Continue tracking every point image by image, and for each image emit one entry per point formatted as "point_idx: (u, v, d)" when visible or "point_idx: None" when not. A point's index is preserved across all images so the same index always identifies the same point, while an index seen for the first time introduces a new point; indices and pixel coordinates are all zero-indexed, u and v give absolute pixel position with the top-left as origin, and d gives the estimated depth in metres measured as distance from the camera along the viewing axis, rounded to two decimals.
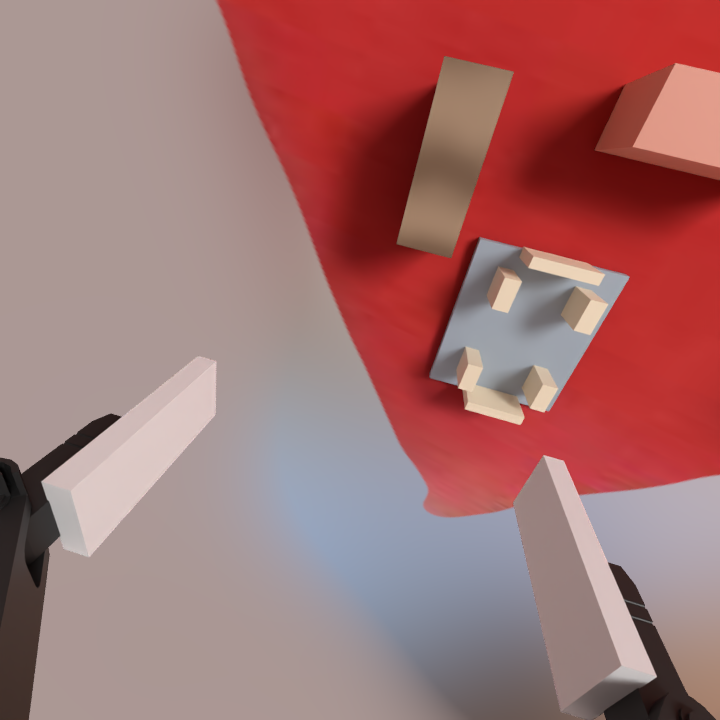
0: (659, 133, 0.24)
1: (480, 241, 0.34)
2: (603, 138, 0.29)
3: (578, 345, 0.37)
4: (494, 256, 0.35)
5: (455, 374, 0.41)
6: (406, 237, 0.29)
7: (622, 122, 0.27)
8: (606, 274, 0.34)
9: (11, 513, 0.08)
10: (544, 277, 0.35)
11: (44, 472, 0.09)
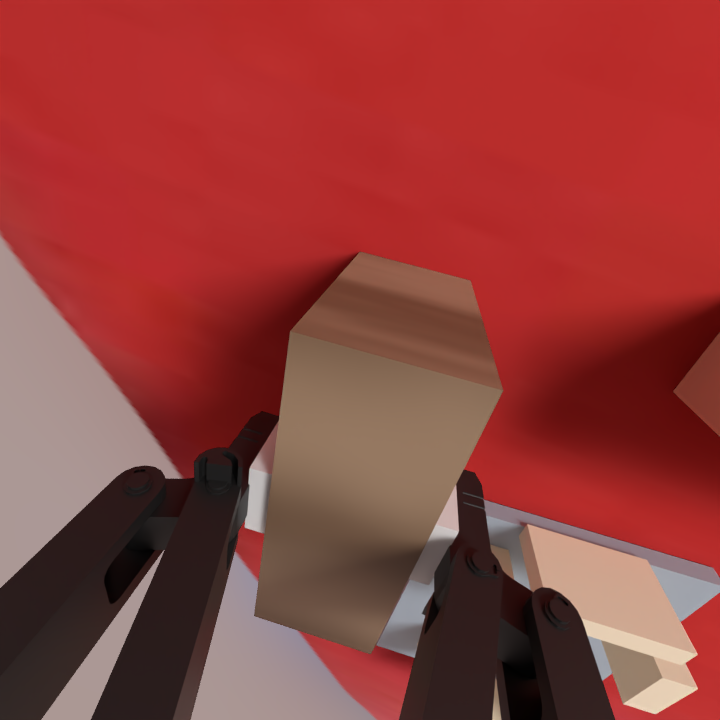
0: None
1: None
2: (697, 385, 0.14)
3: None
4: None
5: (416, 648, 0.26)
6: (272, 611, 0.13)
7: None
8: (681, 578, 0.18)
9: (228, 500, 0.09)
10: None
11: None
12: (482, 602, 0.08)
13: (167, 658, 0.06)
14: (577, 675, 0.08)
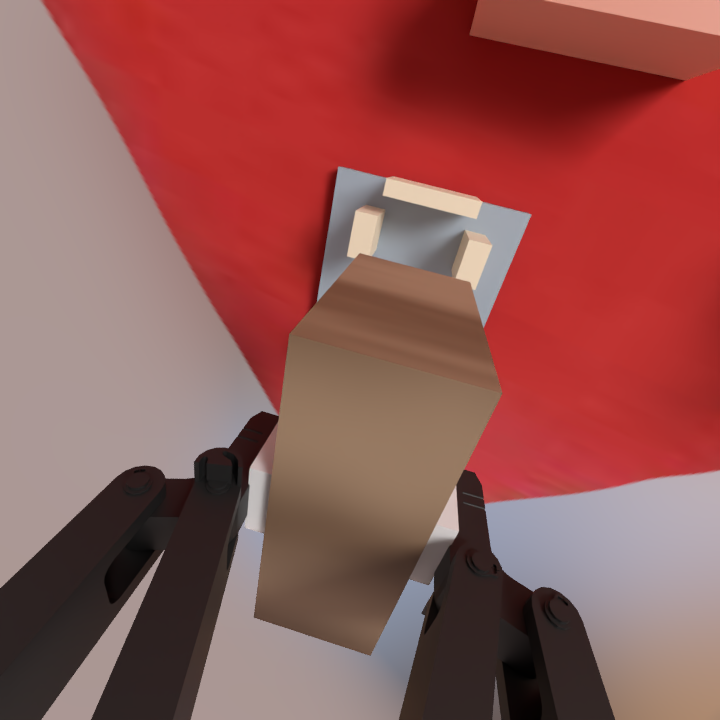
0: None
1: (339, 170, 0.26)
2: None
3: None
4: (359, 191, 0.27)
5: None
6: (271, 613, 0.13)
7: None
8: (501, 212, 0.26)
9: (228, 500, 0.09)
10: (424, 218, 0.27)
11: None
12: (482, 602, 0.08)
13: (167, 659, 0.06)
14: (577, 675, 0.08)
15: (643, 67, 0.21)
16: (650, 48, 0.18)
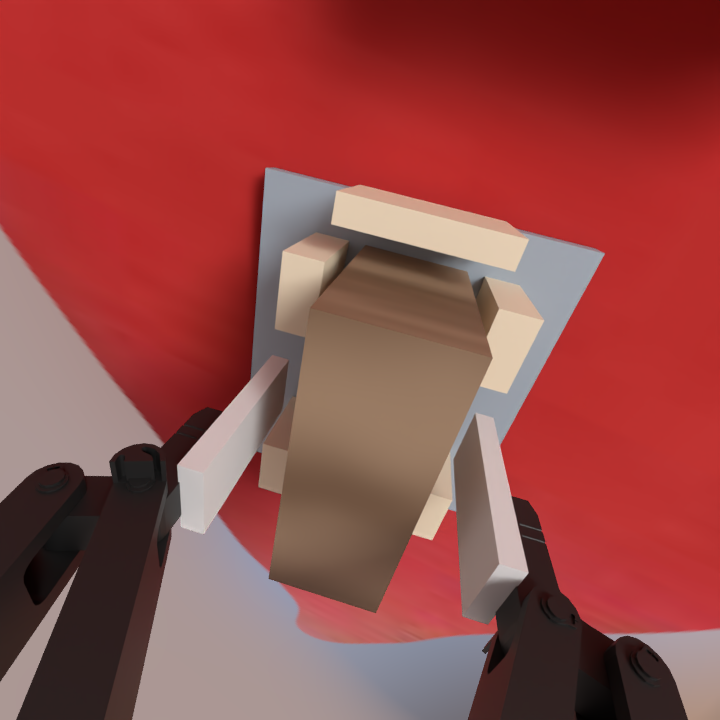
0: None
1: (267, 174, 0.15)
2: None
3: (503, 400, 0.18)
4: (303, 209, 0.15)
5: None
6: (285, 573, 0.14)
7: None
8: (550, 248, 0.14)
9: (153, 496, 0.09)
10: (416, 256, 0.16)
11: (168, 458, 0.11)
12: (558, 653, 0.08)
13: (93, 661, 0.06)
14: None
15: None
16: None
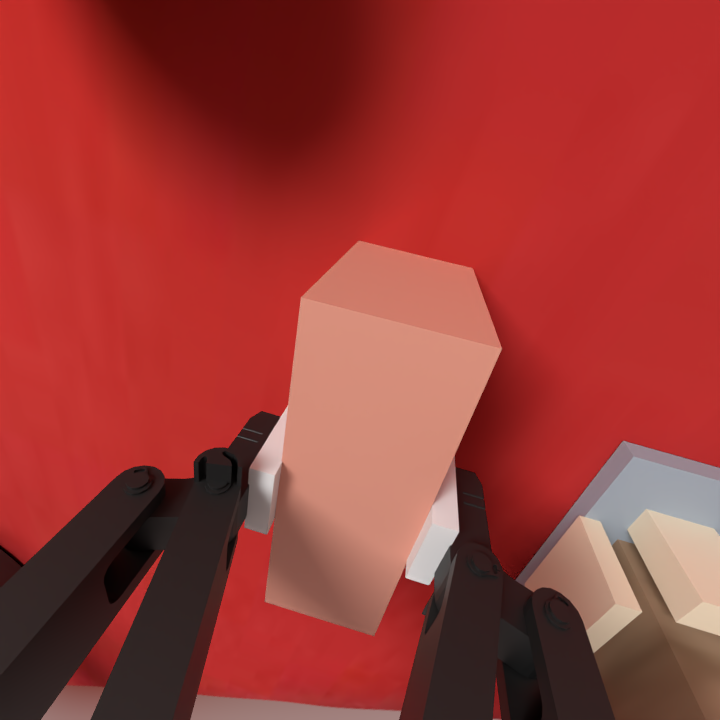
0: (354, 612, 0.14)
1: None
2: None
3: None
4: None
5: None
6: None
7: None
8: (614, 490, 0.16)
9: (228, 500, 0.09)
10: None
11: None
12: (483, 602, 0.08)
13: (166, 659, 0.06)
14: (577, 675, 0.08)
15: None
16: None
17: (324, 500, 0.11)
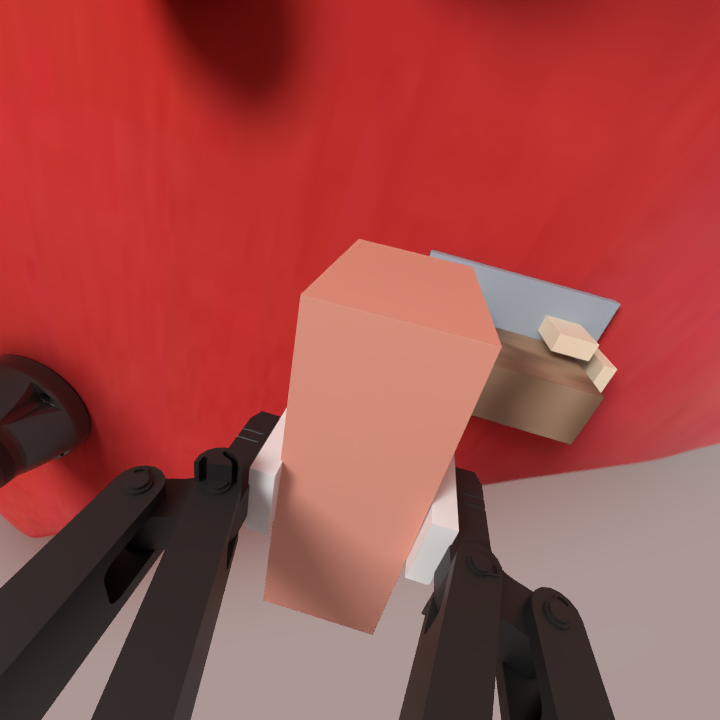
0: (353, 611, 0.14)
1: None
2: None
3: (515, 286, 0.30)
4: None
5: None
6: (566, 435, 0.27)
7: None
8: None
9: (229, 500, 0.09)
10: None
11: None
12: (482, 602, 0.08)
13: (167, 658, 0.06)
14: (577, 675, 0.08)
15: None
16: None
17: (323, 497, 0.11)
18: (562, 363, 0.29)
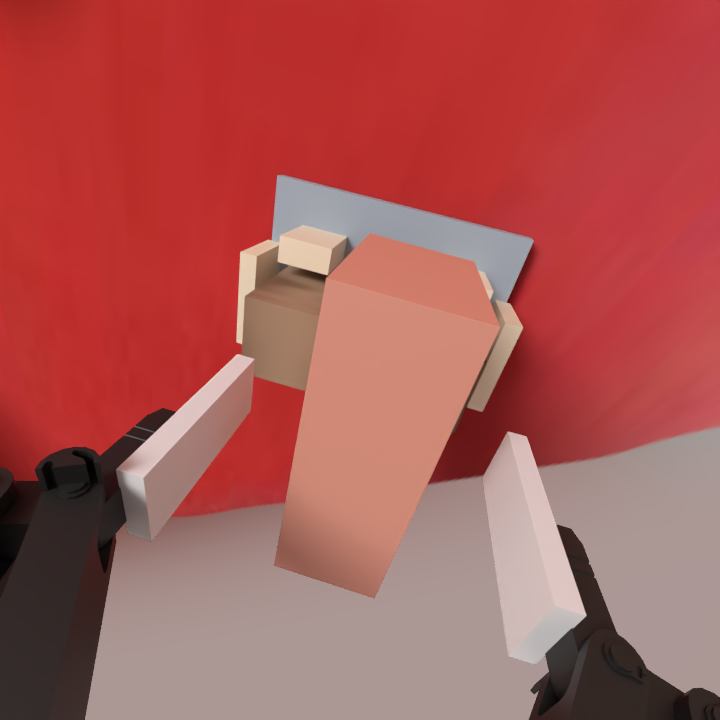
0: (357, 575, 0.15)
1: None
2: None
3: (393, 220, 0.22)
4: None
5: None
6: None
7: None
8: (278, 210, 0.23)
9: (89, 500, 0.09)
10: None
11: (112, 462, 0.10)
12: (621, 706, 0.07)
13: (30, 673, 0.06)
14: None
15: None
16: None
17: (335, 465, 0.12)
18: None
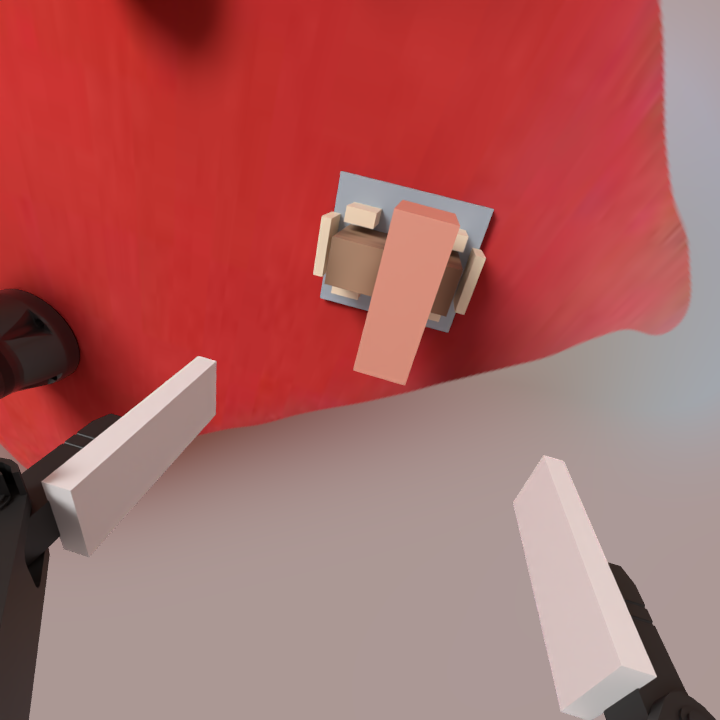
0: (397, 370, 0.30)
1: (322, 297, 0.44)
2: None
3: (410, 198, 0.37)
4: (332, 286, 0.43)
5: None
6: (440, 308, 0.34)
7: None
8: (340, 192, 0.38)
9: (11, 513, 0.08)
10: None
11: (44, 472, 0.09)
12: None
13: None
14: None
15: None
16: None
17: (390, 300, 0.27)
18: None
